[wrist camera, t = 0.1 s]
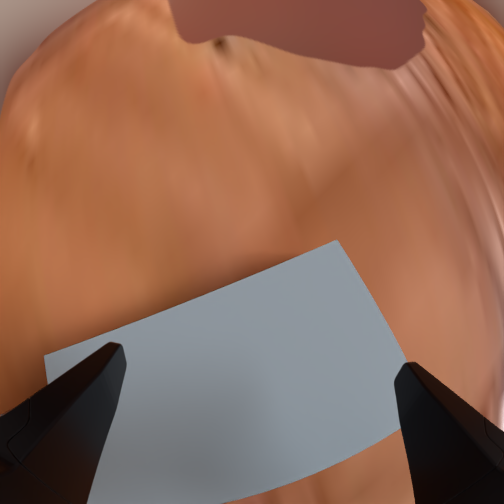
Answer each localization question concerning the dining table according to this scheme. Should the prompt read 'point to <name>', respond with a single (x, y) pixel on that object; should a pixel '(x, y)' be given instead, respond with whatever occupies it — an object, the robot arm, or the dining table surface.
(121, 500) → the box lid
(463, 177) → the dining table surface
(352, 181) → the dining table surface
